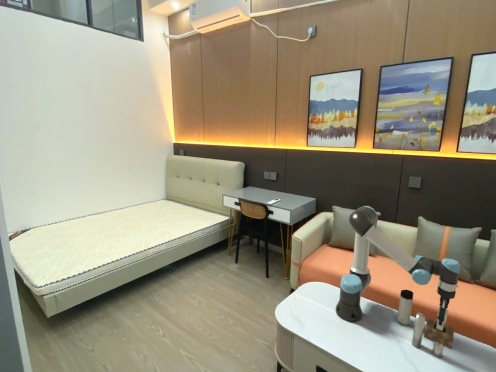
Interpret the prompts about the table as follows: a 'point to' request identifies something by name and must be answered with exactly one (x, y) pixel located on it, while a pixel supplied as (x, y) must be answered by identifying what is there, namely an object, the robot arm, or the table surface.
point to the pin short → (438, 349)
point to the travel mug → (405, 307)
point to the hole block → (439, 333)
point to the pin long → (418, 330)
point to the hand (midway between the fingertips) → (439, 326)
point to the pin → (444, 320)
